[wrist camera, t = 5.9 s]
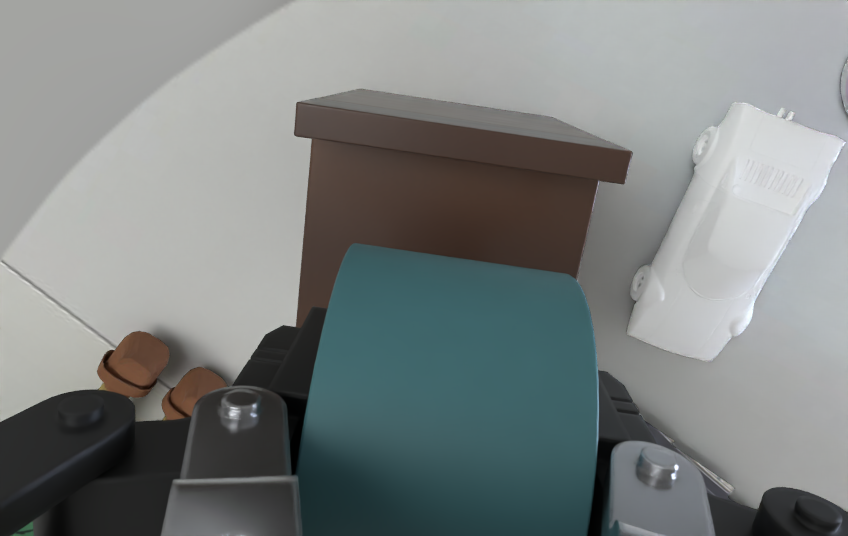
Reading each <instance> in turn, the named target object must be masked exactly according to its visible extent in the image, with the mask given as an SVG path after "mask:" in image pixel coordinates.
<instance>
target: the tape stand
mask: <svg viewBox="0 0 848 536" xmlns="http://www.w3.org/2000/svg"><path fill="white" fill-rule="evenodd" d="M294 135H295V136H297V137H304V138H311V139H312V144H311V156H310V168H309V179H308V191H307V203H306V215H305V226H304V238H303V250H302V262H301V273H300V285H299V297H298V309H297V320H296V327H298V328H301V327H302V325H303V323H304V321H305V319H306V317H307V316H308V314H309V312H310V310H311V308H312V307H313V306H315V307H322V308H328V305H329V301H330V298H331V294H332V291H333V287H334V284H335V281H336V277H337V274H338V272H339V269H340V266H341V263H342V261H343V258H344V256H345V254H346V252H347V250H348V249H349V247H350V246H351V245H352V244H354V243H358V244H365V245H372V246H379V247H386V248H392V249H399V250H406V251H413V252H420V253H427V254H434V255H441V256H448V257H455V258H461V259H468V260H475V261H482V262H489V263H496V264H503V265H510V266H517V267H524V268H530V269H537V270H544V271H551V272H558V273H565V274H569V275H570V276H572V277H573V278H575V279H576V280H577V278H578V274H579V269H580V265H581V261H582V256H583V252H584V247H585V243H586V239H587V234H588V230H589V226H590V221H591V217H592V213H593V208H594V204H595V200H596V195H597V191H598V187H599V182H600V181H603V182H610V183H617V184H625V183H626V179H627V175H628V171H629V167H630V162H631V158H632V154H633V153H632V151H630V150H627V149H625V148H623V147H620V146H618V145H616V144H613V143H611V142H609V141H606V140H604V139H601V138H599V137H597V136H594V135H592V134H590V133H587V132H585V131H583V130H580V129H578V128H576V127H574V126H571V125H569V124H567V123H564V122H562V121H560V120H557V119H555V118H553V117H547V116H541V115H534V114H527V113H520V112H514V111H507V110H500V109H493V108H487V107H480V106H473V105H466V104H460V103H453V102H446V101H439V100H433V99H426V98H419V97H412V96H406V95H399V94H392V93H385V92H379V91H372V90H365V89H356V90H352V91H348V92H343V93H339V94H334V95H330V96H325V97H321V98H315V99H310V100H306V101H301V102H297V104H296V117H295V130H294Z"/></svg>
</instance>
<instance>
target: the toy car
mask: <svg viewBox="0 0 848 536" xmlns="http://www.w3.org/2000/svg"><path fill="white" fill-rule="evenodd" d="M786 111H787V110H786V109H784V108H781V109H780V110H779V112H778V114H777V115H773V114H771V113H768V112H765V111H762V110H759V109H757V107H755V106H753V105H751V104H747V103H738V102H733V103H732V105H731V107H730V109H729V110H728V112H727V114H726V116H725V118H724V119H723V121H722V123H721V124H720V125H719V127H718V126H711V127H708V128H707V129H705V130H704V131H703V132H702V134H701V135H700V136H699V138H698V140H697V142H696V144H695V146H694V149H693V153H692V160H693V162H694V163H695V164H696V166H695V167H694V171H695V173H694V176H693V178H692V180H691V182H690V184H689V186H688V189H687V191H686V193H685V195H684V197H683V199H682V201H681V203H680V205H679V207H678V209H677V211H676V213H675V216H674V218H673V220H672V222H671V224H670V226H669V228H668V231H667V233H666V235H665V237H664V239H663V241H662V243H661V245H660V248H659V250H658V252H657V254H656V256H655V258H654V260H653V261H652V265H643V266H641V267H640V268H639V269H638V271H637V272H636V274H635V276H634V278H633V280H632V284H631V289H630V294H631V297H632V298H633V299H634V300H635V301H637V303H636V304H634V308H633V311H632V314H631V317H630V320H629V324H628V328H627V334H628V335H630V336H632V337H634V338H636V339H638V340H641V341H643V342H645V343H648V344H650V345H652V346H655V347H657V348H660V349H663V350H665V351H668V352H672V353H675V354H679V355H683V356H687V357H691V358H695V359H699V360H703V361H708V362H711V361H712V360H713V359H714V358H715V357H716V356H717V355H718V354H719V353H720V351H721V350H722V349H723V348H724V346H725V345H726V344H727V343H728V341H729V340H730V339H731V338H733V337H735V336H737V335H739V334H741V333H742V332H743V331H744V330H745V329H746V327H747V326H748V324H749V323H750V320H751V318H752V314H753V304H754V302H755V300H756V298H757V296H758V295H759V293H760V291H761V289H762V288H763V286H764V284H765V282H766V281H767V279H768V277H769V275H770V274H771V272H772V270H773V269H774V267H775V265H776V263H777V262H778V260H779V258H780V257H781V255H782V253H783V251H784V250H785V248H786V246H787V245H788V243H789V241H790V239H791V238H792V236H793V234H794V232H795V231H796V229H797V227H798V226H799V224H800V222H801V220H802V219H803V217H804V215H805V213H806V212H807V210H808V208H809V207H810V205H811V204H812V203H813V202H814V201H816V200H817V199H818V198H819V196H820V195H821V194H822V192H823V190H824V188H825V186H826V183H827V179H828V174H829V172H830V170H831V168H832V166H833V164H834V162H835V161H836V159H837V157H838V155H839V153H840V152H841V150H842V148H843V146H844V144H845V143H846V141H844V140H841V138H839V137H838V136H835V135H832V134H825V133H822V132H820V131H817V130H814V129H811V128H809V127H806V126H803V125H801V124H798V123H795V122H792V121H791V120H792V119H793V117H794V115H795V114H796V113H795V112H792V111H790V112H789V113H788V115H787V117H786V118H785V119H784V118H782V117H783V116H784V114H785V112H786Z"/></svg>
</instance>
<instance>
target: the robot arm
mask: <svg viewBox="0 0 848 536" xmlns="http://www.w3.org/2000/svg"><path fill="white" fill-rule="evenodd" d="M327 309H328V308H322V307H315V306H313V307H312V308H311V310H310V312H309V314H308V316H307V317H306V319H305V321H304V323H303V325H302V327H301V328H298V327H291V326H284V325H283V326H281V327H279V328H277V329H275V330H273V331H271V332H270V333H268V334H266V335H265V336H264V338H263V339H262V341H261V343H260V344H259V346H258V348H257V349H256V350H255V352H254V353H253V355H252V356H251V359H250V360H249V361H248V362H247V364H246V365H245V367H244V368H243V370H242V371H241V373H240V374H239V376H238V377H237V379H236V380H235V382H234V383H233V385H232V386H230V387H224V388H220V389H216V390H213V391H211V392H209V393H207V394H205V395H203V396H202V397H201V398H200V399H198V400H197V402H196V403H195V404H194V407H193V411H192V416H191V417H187V418H181V419H174V420H158V421H138V422H135V406H134V404H133V402H132V401H131V400H130V399H129V398H127V397H126V396H124V395H122V394H119V393H116V392H112V391H106V390H80V391H73V392H68V393H64V394H60V395H57V396H54V397H51V398H49V399H47V400H44V401H42V402H40V403H38V404H36V405H34V406H32V407H30V408H28V409H26V410H24V411H22V412H20V413H18V414H16V415H14V416H12V417H10V418H8V419H6V420H4V421H2V422H0V536H11V535H13V534H14V533H16V532H17V531H19V530H20V529H22V528H23V527H25V526H26V525H28V524H29V523H31V522H32V521H33V533H34V536H303V533H302V520H301V508H300V496H299V484H298V477H297V475H295V474H296V467H297V460H298V454H299V448H300V441H301V435H302V429H303V423H304V418H305V412H306V406H307V401H308V395H309V390H310V385H311V380H312V375H313V370H314V365H315V360H316V356H317V351H318V347H319V342H320V338H321V333H322V329H323V325H324V321H325V317H326V313H327ZM598 382H599V431H598V450H597V466H596V476H595V486H594V496H593V503H592V510H591V517H590V524H589V530H588V535H587V536H848V513H847V512H846V511H845V510H843V509H842V508H840V507H838V506H837V505H835V504H833V503H831V502H830V501H828V500H826V499H824V498H821V497H819V496H817V495H814V494H811V493H809V492H805V491H802V490H798V489H793V488H786V487H777V488H771V489H769V490H767V491H766V492H765V493H764V495H763V497H762V500H761V503H760V505H759V508H758V510H756V509H753V508H750V507H747V506H744V505H741V504H738V503H735V502H732V501H729V500H726V499H723V498H720V497H717V496H714V495H712V494H710V493H707V492H706V487H705V482H704V479H703V476H702V474H701V473H700V471H699V470H698V469H697V468H696V466H695V465H693V464H692V463H691V462H690V461H689V460H687V459H686V458H685V457H683V456H682V455H680V454H678V453H676V452H674V451H672V450H670V449H668V448H666V447H663V446H660V445H657V443H656V441H655V439H654V438H653V436H652V434H651V432H650V431H649V429H648V427H647V425H646V423H645V422H644V420H643V418H642V416H641V415H639V411H638V409H637V407H636V406H635V404H634V403H632V401H633V400H632V399H631V397H630V395H629V393H628V391H627V390H626V388H625V386H624V385H623V384H621V383H620V382H619V381H618V380H617V379H615V378H614V377H613V376H612V375H610V374H609V373H608V372H604V371H598Z"/></svg>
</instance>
